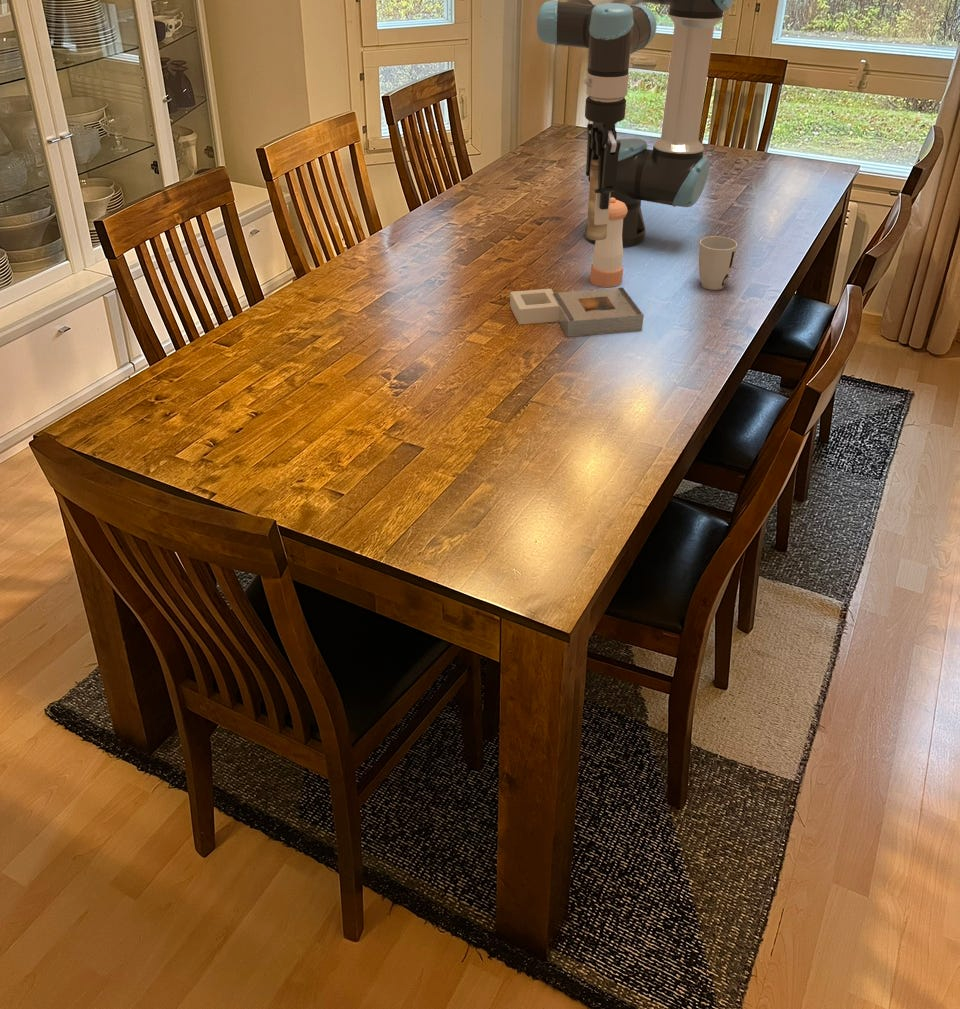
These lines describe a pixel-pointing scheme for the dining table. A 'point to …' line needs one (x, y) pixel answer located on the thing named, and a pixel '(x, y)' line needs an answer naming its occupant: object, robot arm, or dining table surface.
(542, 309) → the holder
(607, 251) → the salt shaker
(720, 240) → the cup
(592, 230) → the brown wooden cylinder
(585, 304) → the grey square frame
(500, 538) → the dining table surface
